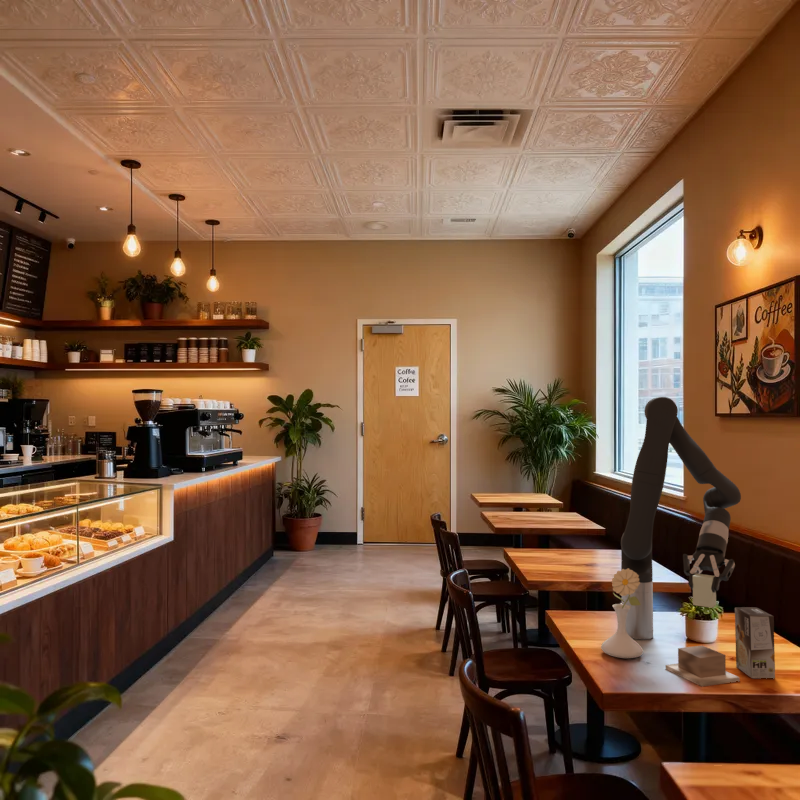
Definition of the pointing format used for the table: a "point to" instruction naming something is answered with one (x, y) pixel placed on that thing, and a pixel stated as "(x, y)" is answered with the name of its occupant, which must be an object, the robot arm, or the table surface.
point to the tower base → (703, 680)
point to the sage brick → (703, 591)
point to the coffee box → (755, 642)
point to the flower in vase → (623, 617)
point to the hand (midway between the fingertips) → (702, 589)
